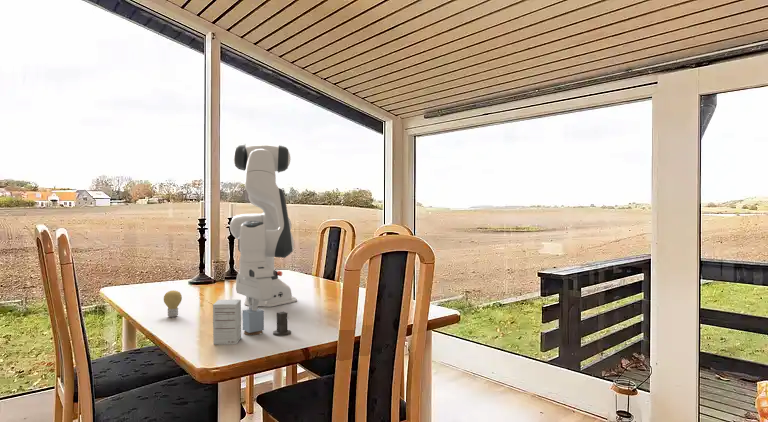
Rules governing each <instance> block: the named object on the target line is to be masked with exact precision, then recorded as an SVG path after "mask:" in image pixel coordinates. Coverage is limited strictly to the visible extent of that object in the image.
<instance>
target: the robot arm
mask: <svg viewBox="0 0 768 422" xmlns="http://www.w3.org/2000/svg"><path fill="white" fill-rule="evenodd" d="M232 161H233V164H234V166H235V167H236V168H237V169H238V170H241V171H243V172H244V171H245V172H244V189H245V191H246V193H247V194H248V200H249V202H250V204H252V205H253V206H255V207H257V208H259V209H261V210H262V212H261V213H242V214H236V215H234V216H233V217H232V218H231V221H230V222H229V230H230V233H231V235H232V236H233V237H234V238H235V239H237V240H238V241H237V248H238V251H239V253H240V257H239V261H238V262H239V264H238V265H239V268H238V269H239V270H238V273H237V274H236V278H235V279H236V280H235V281H236V282H235V290H236V293H237V294H238V295H242V296H245V300H244V304H243V305H245V306H248V309H249V310H252V311H257V310H258V309H259V308H258V307H269V308H270V307H271V308H272V307H276V306H281V305H286V304H291V303H296V302H297V301H298V300H297V299H298V298H297V297H295V296H292V295H293V294H292V289H291V287H290V286H289V285H288V284H286V283H285V282H284V281H282V279H279V277H282V275H283V272H282V271H281V270H278V271H277V270H276V269H275V258H281V259H282V258H283V259H285V258H287V257H288V256H290V254H292V253H293V251H294V246H295V242H294V236H293V234H292V231H291V229H292V222H291V219H290V217H289V214H288V208H287V207H288V206H287V202H286V196H285V194H284V190H283V189H282V188H281V187H279V186H278V184H277V183H276V182H277V179H276V177H277V176H276V172H277V173H278V174H279V173H282V172H285V171H286V170H287V169H289V166H290V164H291V153H290V152H289V149H288V148H287V147H286V146H284V145H281V144H280V145H275V144H268V143H262V144H261V143H249V144H247V143H241V144H238V145H236V147H235V149H234V151H233V153H232Z"/></svg>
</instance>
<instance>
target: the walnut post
mask: <svg viewBox="0 0 768 422" xmlns="http://www.w3.org/2000/svg"><path fill="white" fill-rule="evenodd" d="M263 331H264V330H262V331H257V332H251V333H249V332H246V331H244V330H243V334H244V335H245V336H258V335H261V334H263Z"/></svg>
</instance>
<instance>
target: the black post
mask: <svg viewBox="0 0 768 422" xmlns="http://www.w3.org/2000/svg"><path fill="white" fill-rule="evenodd" d="M291 334H292V331H291V330H290V329H288V312H286V311H278V312H276V330H274V331H273V332H272V335H273V336H276V337H285V336H289V335H291Z"/></svg>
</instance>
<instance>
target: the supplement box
mask: <svg viewBox="0 0 768 422" xmlns="http://www.w3.org/2000/svg"><path fill="white" fill-rule="evenodd" d="M241 304H242V300H241V299H217V301H215V302H214V303H213V304H212V335H213V336H212V338H213V340H212V343H213V345H238V342H239V341H240V340H241V338H242V307H241V306H242V305H241Z"/></svg>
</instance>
